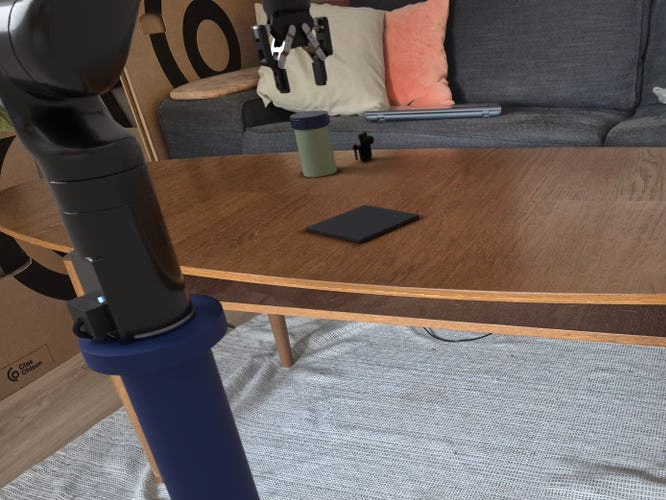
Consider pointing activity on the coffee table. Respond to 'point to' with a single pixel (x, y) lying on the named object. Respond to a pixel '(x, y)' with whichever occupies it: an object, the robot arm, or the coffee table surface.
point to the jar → (316, 151)
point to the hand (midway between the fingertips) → (303, 88)
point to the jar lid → (309, 119)
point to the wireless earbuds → (364, 147)
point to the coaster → (362, 223)
